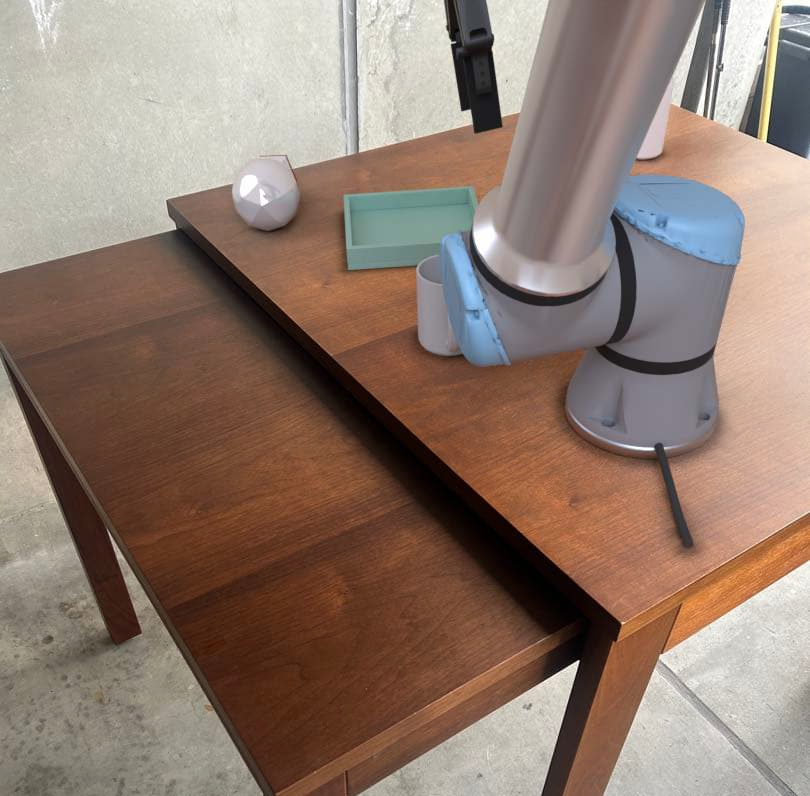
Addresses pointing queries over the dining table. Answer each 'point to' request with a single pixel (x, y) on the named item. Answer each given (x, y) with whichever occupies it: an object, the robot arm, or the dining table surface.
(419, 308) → the cup
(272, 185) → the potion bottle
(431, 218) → the tray
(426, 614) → the dining table surface
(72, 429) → the dining table surface
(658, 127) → the can
